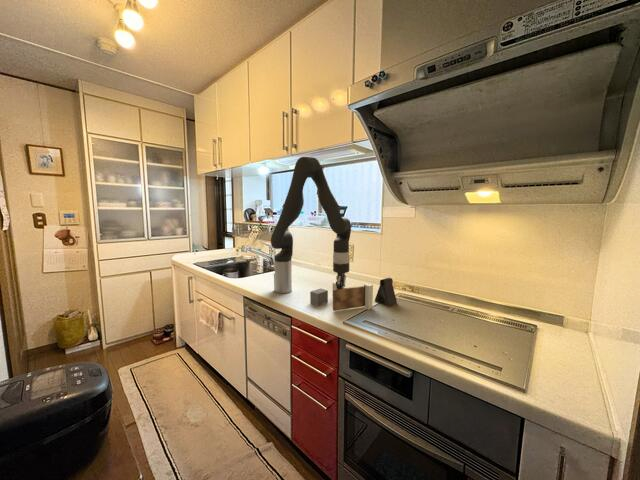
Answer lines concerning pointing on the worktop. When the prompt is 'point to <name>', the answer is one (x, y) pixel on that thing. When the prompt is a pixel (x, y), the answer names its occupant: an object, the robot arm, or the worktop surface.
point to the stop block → (319, 297)
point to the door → (348, 298)
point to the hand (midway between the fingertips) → (341, 297)
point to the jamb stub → (334, 285)
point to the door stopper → (386, 293)
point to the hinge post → (368, 296)
